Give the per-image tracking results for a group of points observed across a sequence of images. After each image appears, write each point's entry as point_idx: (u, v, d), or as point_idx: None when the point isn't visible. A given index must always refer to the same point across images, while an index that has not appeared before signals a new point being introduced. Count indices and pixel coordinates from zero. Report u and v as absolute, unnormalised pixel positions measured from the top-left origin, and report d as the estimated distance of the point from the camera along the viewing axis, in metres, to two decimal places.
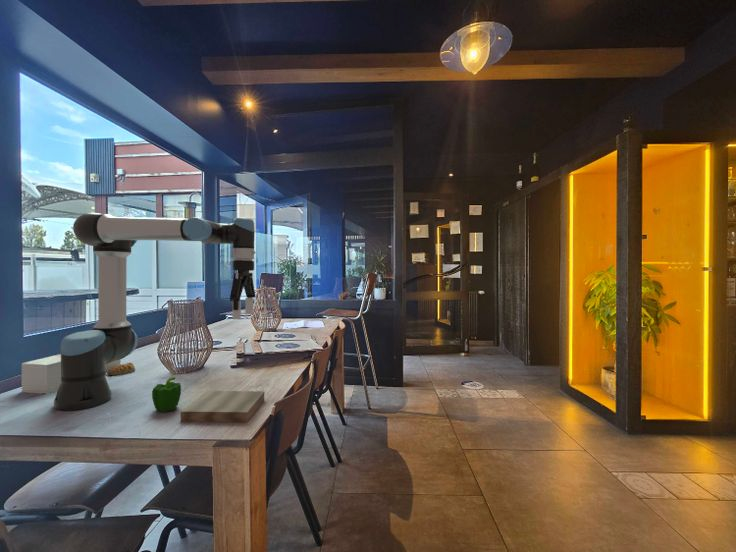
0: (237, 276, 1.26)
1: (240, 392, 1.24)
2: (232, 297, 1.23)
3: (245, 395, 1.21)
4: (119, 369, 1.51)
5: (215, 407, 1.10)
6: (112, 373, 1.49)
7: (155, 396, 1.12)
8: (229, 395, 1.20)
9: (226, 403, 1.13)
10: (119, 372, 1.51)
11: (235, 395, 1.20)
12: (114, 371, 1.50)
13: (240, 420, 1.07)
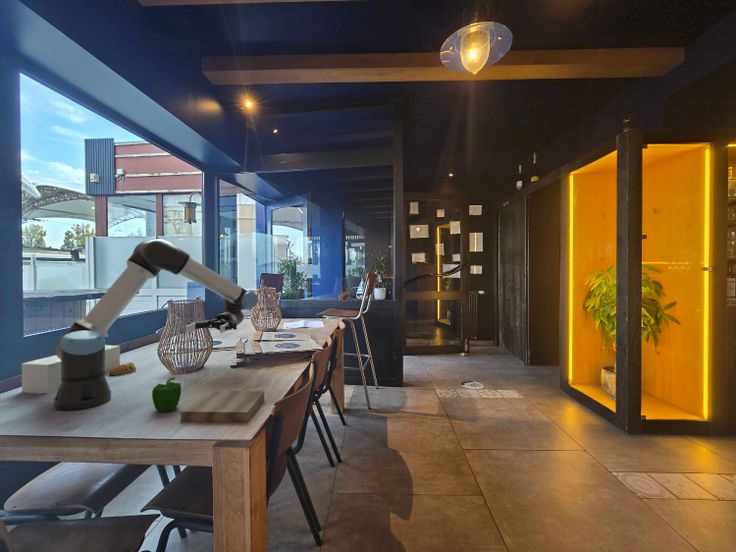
0: None
1: (240, 392, 1.24)
2: (236, 325, 1.49)
3: (245, 395, 1.21)
4: (120, 369, 1.51)
5: (215, 407, 1.10)
6: (113, 373, 1.49)
7: (155, 396, 1.12)
8: (229, 395, 1.20)
9: (226, 403, 1.13)
10: (120, 372, 1.51)
11: (235, 395, 1.20)
12: (115, 371, 1.50)
13: (240, 420, 1.07)
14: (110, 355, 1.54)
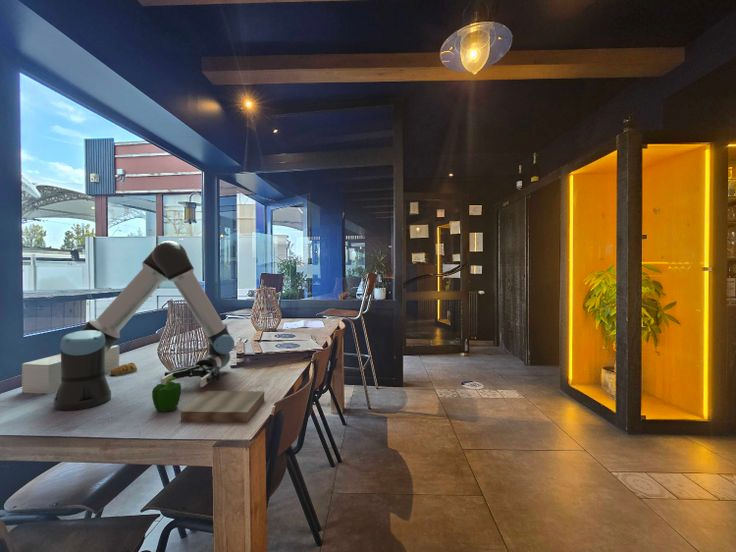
0: (219, 371, 1.39)
1: (240, 392, 1.24)
2: (219, 375, 1.32)
3: (245, 395, 1.21)
4: (121, 369, 1.51)
5: (215, 407, 1.10)
6: (114, 373, 1.49)
7: (155, 396, 1.12)
8: (229, 395, 1.20)
9: (226, 403, 1.13)
10: (121, 372, 1.51)
11: (235, 395, 1.20)
12: (116, 371, 1.50)
13: (240, 420, 1.07)
14: (110, 355, 1.54)
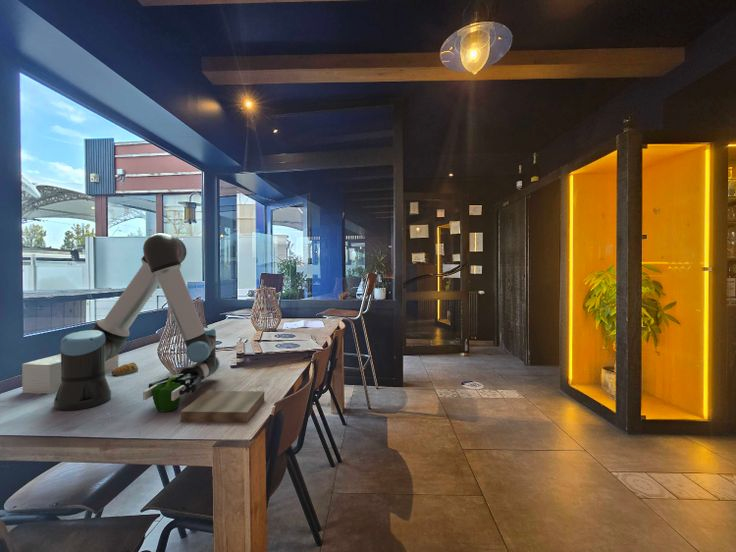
0: (202, 381, 1.26)
1: (240, 392, 1.24)
2: (195, 386, 1.19)
3: (245, 395, 1.21)
4: (123, 369, 1.51)
5: (215, 407, 1.10)
6: (116, 373, 1.49)
7: (156, 396, 1.12)
8: (229, 395, 1.20)
9: (226, 403, 1.13)
10: (123, 372, 1.51)
11: (235, 395, 1.20)
12: (118, 371, 1.50)
13: (240, 420, 1.07)
14: None
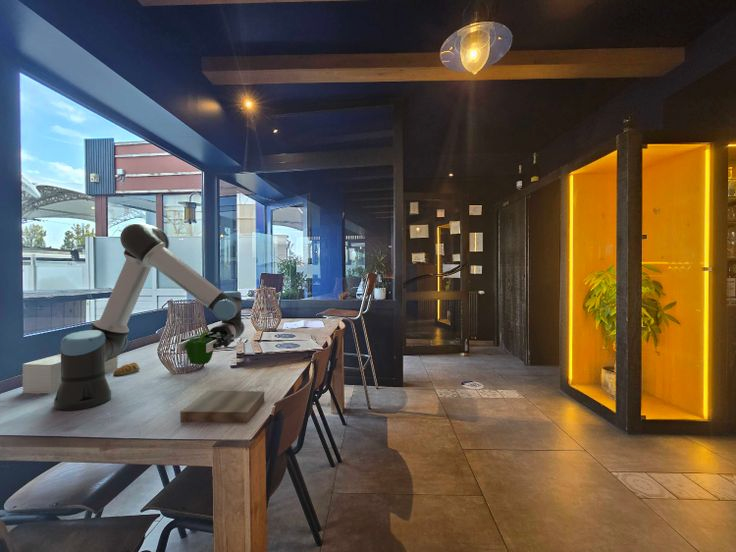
0: (232, 339, 1.27)
1: (240, 392, 1.24)
2: (227, 341, 1.19)
3: (245, 395, 1.21)
4: (124, 369, 1.51)
5: (215, 407, 1.10)
6: (118, 373, 1.49)
7: (190, 349, 1.13)
8: (229, 395, 1.20)
9: (226, 403, 1.13)
10: (125, 372, 1.51)
11: (235, 395, 1.20)
12: (120, 371, 1.50)
13: (240, 420, 1.07)
14: None
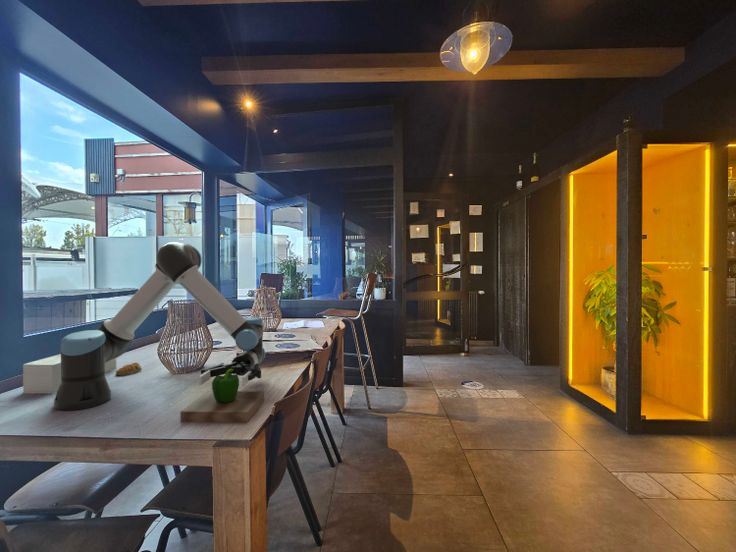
0: None
1: (240, 392, 1.24)
2: (260, 373, 1.20)
3: (245, 395, 1.21)
4: (127, 369, 1.51)
5: (215, 407, 1.10)
6: (120, 373, 1.49)
7: (216, 387, 1.12)
8: None
9: (226, 403, 1.13)
10: (127, 372, 1.51)
11: None
12: (122, 371, 1.50)
13: (240, 420, 1.07)
14: None
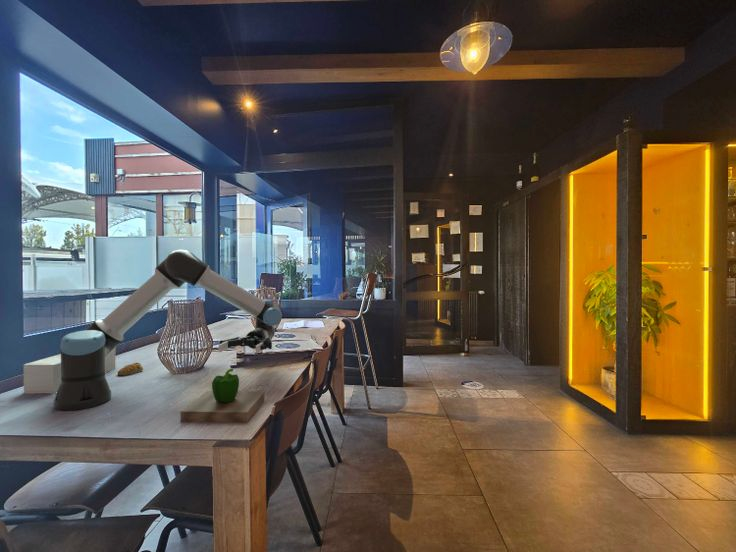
0: None
1: (240, 392, 1.24)
2: (271, 344, 1.38)
3: (245, 395, 1.21)
4: (129, 369, 1.52)
5: (215, 407, 1.10)
6: (122, 373, 1.49)
7: (216, 387, 1.12)
8: None
9: (226, 403, 1.13)
10: (129, 372, 1.51)
11: None
12: (124, 371, 1.50)
13: (240, 420, 1.07)
14: (107, 355, 1.55)
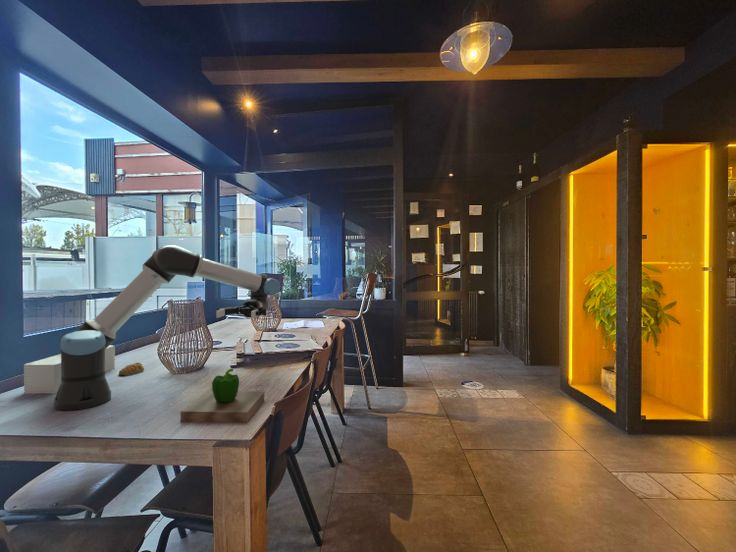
0: None
1: (240, 392, 1.24)
2: None
3: (245, 395, 1.21)
4: (130, 369, 1.52)
5: (215, 407, 1.10)
6: (124, 373, 1.49)
7: (216, 387, 1.12)
8: None
9: (226, 403, 1.13)
10: (130, 372, 1.51)
11: None
12: (126, 371, 1.50)
13: (240, 420, 1.07)
14: (106, 355, 1.55)
